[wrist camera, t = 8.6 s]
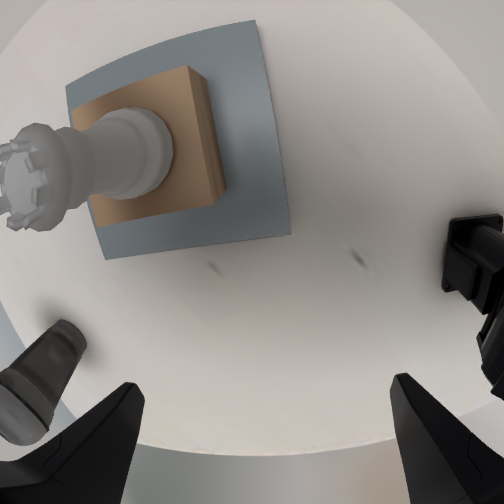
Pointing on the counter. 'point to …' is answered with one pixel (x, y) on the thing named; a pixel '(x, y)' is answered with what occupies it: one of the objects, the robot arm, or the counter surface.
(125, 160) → the rook chess piece
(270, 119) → the build plate
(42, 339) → the beverage cup
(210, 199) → the base brick
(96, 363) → the counter surface
